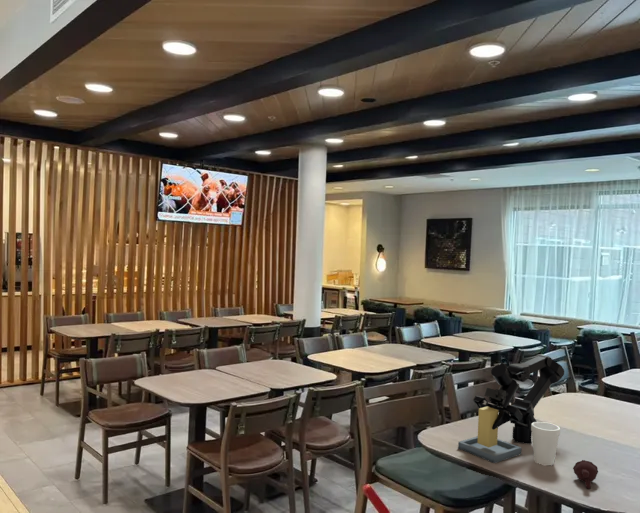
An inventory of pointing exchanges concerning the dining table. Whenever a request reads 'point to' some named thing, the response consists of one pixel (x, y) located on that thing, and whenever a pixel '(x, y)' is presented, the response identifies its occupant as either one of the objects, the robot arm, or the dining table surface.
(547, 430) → the foam cup
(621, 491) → the dining table surface
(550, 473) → the dining table surface
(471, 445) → the tray
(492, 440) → the block
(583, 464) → the icecream
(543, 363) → the robot arm
